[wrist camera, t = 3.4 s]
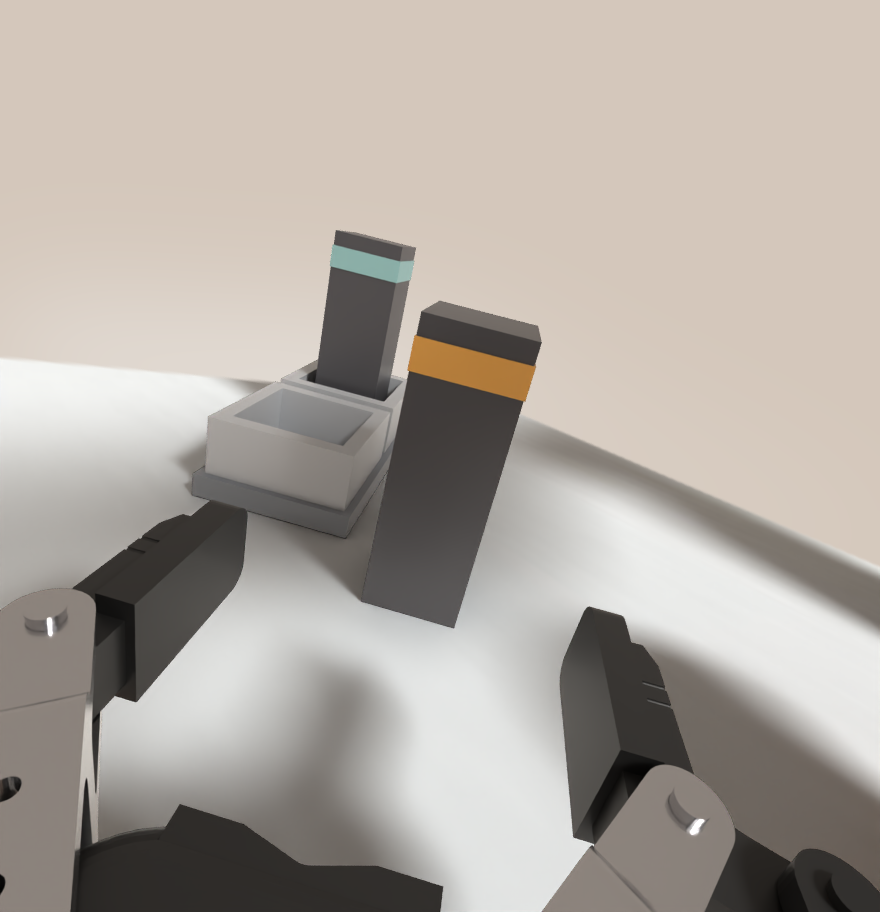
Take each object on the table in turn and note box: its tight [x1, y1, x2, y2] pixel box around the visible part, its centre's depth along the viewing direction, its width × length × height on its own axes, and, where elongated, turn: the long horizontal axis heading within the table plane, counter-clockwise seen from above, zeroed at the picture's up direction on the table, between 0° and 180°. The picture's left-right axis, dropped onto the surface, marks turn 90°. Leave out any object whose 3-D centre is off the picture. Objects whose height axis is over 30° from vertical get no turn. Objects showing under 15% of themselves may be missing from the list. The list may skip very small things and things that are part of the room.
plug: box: [361, 301, 542, 628], centre depth 21 cm, size 4×4×12 cm
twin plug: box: [315, 230, 416, 402], centre depth 33 cm, size 4×4×12 cm
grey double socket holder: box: [192, 360, 407, 538], centre depth 32 cm, size 8×16×4 cm, turn 171°
